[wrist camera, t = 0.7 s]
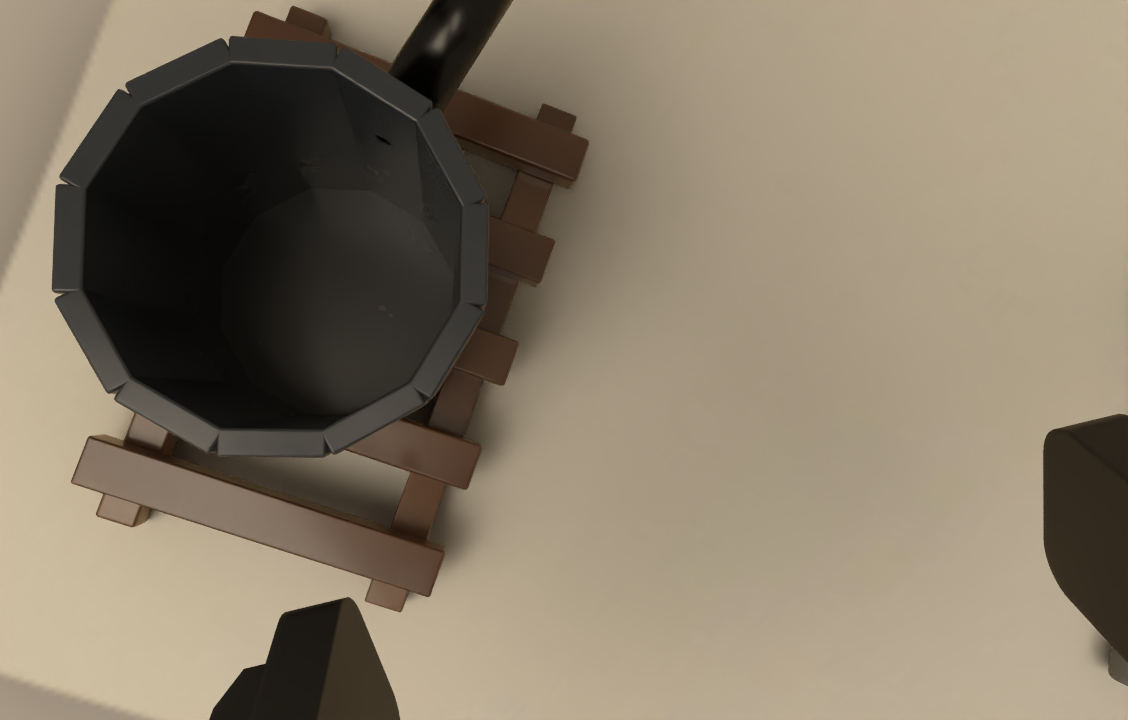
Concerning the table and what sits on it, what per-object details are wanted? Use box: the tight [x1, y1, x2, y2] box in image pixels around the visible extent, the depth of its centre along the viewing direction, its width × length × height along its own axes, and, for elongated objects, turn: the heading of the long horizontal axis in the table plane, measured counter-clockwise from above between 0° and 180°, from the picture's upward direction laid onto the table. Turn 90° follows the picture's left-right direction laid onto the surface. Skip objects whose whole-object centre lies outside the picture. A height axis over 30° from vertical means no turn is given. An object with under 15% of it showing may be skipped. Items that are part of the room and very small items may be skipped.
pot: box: [52, 0, 513, 458], centre depth 18 cm, size 12×6×9 cm, turn 149°
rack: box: [71, 6, 589, 612], centre depth 23 cm, size 14×9×2 cm, turn 161°
